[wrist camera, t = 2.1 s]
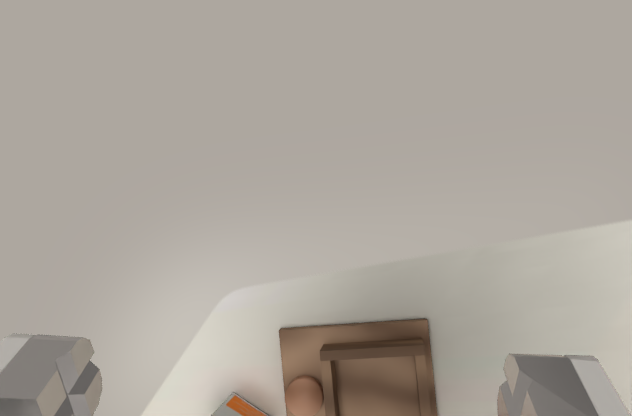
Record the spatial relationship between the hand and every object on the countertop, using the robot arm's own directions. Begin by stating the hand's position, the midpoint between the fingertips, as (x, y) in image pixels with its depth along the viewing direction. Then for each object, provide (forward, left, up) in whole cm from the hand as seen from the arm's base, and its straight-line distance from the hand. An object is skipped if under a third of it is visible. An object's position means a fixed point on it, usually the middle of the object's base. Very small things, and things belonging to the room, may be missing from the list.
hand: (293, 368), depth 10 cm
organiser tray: (-15, +3, -45) cm, 48 cm away
